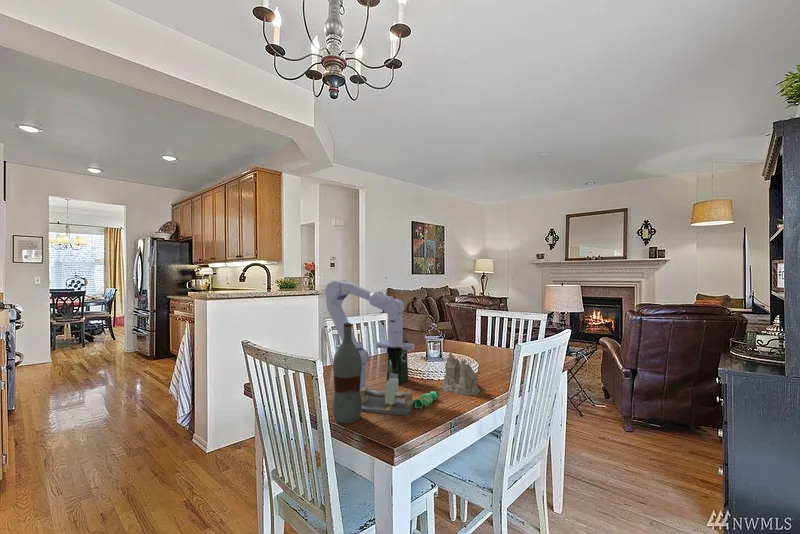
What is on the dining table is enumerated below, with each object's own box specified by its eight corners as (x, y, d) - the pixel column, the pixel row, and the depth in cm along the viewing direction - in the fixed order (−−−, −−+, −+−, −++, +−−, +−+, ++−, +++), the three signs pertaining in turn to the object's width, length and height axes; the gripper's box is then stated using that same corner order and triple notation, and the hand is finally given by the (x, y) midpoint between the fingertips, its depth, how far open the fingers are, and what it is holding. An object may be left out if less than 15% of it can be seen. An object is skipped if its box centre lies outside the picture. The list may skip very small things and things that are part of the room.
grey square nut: (385, 403, 127) (385, 383, 127) (390, 397, 133) (390, 378, 133) (393, 404, 126) (393, 383, 126) (398, 398, 132) (398, 378, 132)
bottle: (356, 425, 114) (357, 325, 115) (328, 423, 116) (328, 325, 116) (365, 414, 124) (365, 321, 124) (338, 412, 125) (338, 321, 126)
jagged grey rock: (467, 397, 140) (468, 356, 141) (434, 389, 152) (435, 351, 153) (492, 391, 151) (492, 352, 152) (459, 383, 163) (459, 348, 164)
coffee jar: (395, 377, 167) (395, 335, 168) (410, 379, 163) (410, 336, 164) (383, 382, 159) (383, 338, 159) (399, 385, 155) (399, 340, 155)
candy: (423, 408, 127) (417, 396, 128) (416, 412, 128) (410, 400, 130) (440, 398, 137) (435, 388, 138) (434, 402, 138) (428, 392, 139)
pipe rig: (355, 410, 126) (355, 393, 127) (366, 399, 138) (366, 383, 138) (407, 415, 122) (407, 398, 122) (415, 403, 134) (415, 387, 134)
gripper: (373, 332, 140) (373, 369, 140) (411, 334, 137) (411, 371, 136) (378, 329, 147) (378, 364, 147) (415, 331, 143) (415, 367, 143)
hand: (394, 368), depth 142 cm, fingers closed
